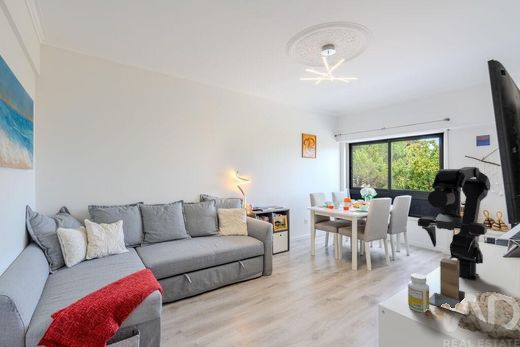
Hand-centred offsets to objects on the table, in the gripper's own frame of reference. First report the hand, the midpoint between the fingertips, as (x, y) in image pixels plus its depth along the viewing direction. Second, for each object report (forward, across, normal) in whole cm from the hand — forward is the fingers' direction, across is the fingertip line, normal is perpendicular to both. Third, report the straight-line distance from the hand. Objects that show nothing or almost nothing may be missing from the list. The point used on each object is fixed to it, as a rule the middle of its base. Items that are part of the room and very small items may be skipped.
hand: (450, 249), depth 89 cm
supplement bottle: (+14, -3, -23) cm, 27 cm away
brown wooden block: (+13, +3, -14) cm, 19 cm away
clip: (+13, +3, -14) cm, 19 cm away
